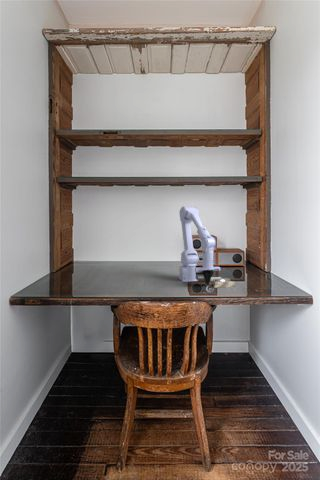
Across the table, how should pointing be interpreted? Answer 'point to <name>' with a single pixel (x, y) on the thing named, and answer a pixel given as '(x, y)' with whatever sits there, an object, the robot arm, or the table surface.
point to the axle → (221, 280)
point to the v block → (215, 278)
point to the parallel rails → (222, 284)
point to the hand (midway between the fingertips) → (207, 283)
